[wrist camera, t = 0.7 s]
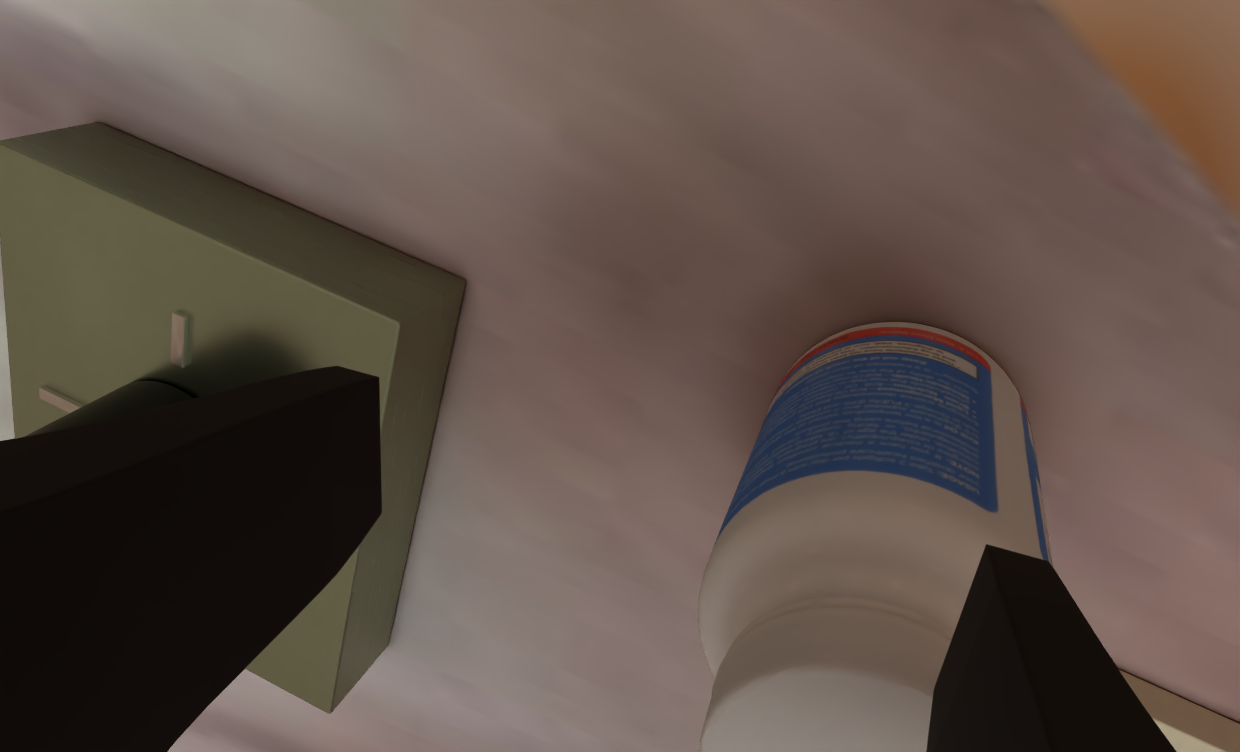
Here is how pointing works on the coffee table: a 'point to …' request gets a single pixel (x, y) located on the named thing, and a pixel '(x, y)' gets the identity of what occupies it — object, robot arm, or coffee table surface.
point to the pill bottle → (862, 541)
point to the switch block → (1186, 720)
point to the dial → (119, 404)
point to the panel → (223, 335)
